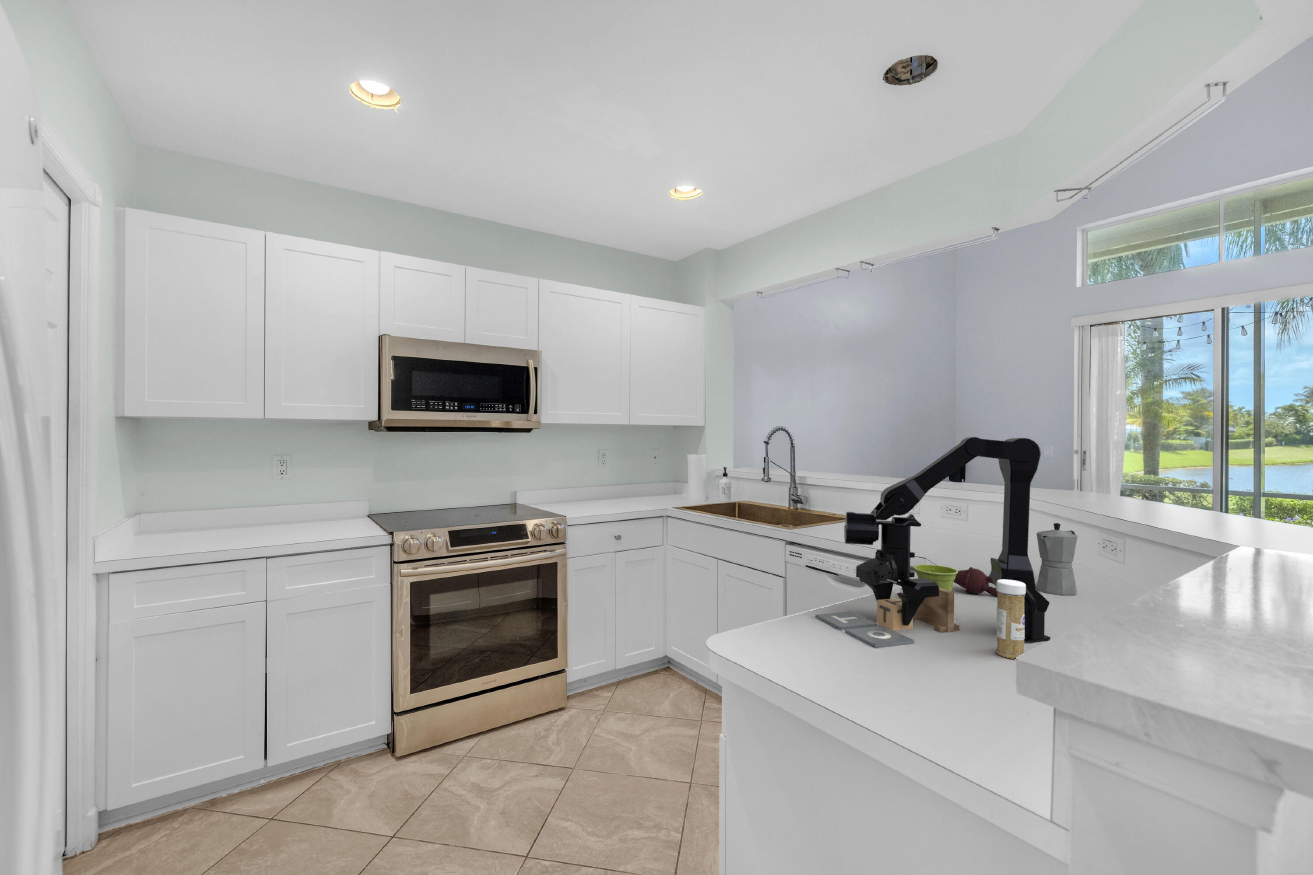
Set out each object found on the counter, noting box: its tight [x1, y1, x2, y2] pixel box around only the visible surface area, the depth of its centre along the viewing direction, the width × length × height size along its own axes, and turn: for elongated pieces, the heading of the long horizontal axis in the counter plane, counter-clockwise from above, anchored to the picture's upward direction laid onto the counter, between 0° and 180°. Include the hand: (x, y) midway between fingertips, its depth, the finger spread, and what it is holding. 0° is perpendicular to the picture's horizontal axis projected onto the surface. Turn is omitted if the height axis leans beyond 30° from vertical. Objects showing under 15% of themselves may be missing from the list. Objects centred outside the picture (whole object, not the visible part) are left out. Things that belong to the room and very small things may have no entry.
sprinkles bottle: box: [995, 579, 1026, 660], centre depth 105 cm, size 5×5×14 cm
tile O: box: [844, 625, 915, 649], centre depth 114 cm, size 9×9×1 cm
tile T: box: [814, 610, 878, 631], centre depth 124 cm, size 9×9×1 cm
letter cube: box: [876, 598, 914, 631], centre depth 122 cm, size 5×5×5 cm
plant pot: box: [913, 564, 959, 592], centre depth 138 cm, size 9×9×9 cm
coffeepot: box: [1035, 522, 1078, 597], centre depth 153 cm, size 15×9×18 cm, turn 118°
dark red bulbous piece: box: [953, 566, 998, 598], centre depth 150 cm, size 7×7×15 cm
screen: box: [902, 577, 961, 633], centre depth 124 cm, size 13×5×8 cm, turn 18°
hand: (894, 620), depth 122 cm, fingers open, 6 cm apart
